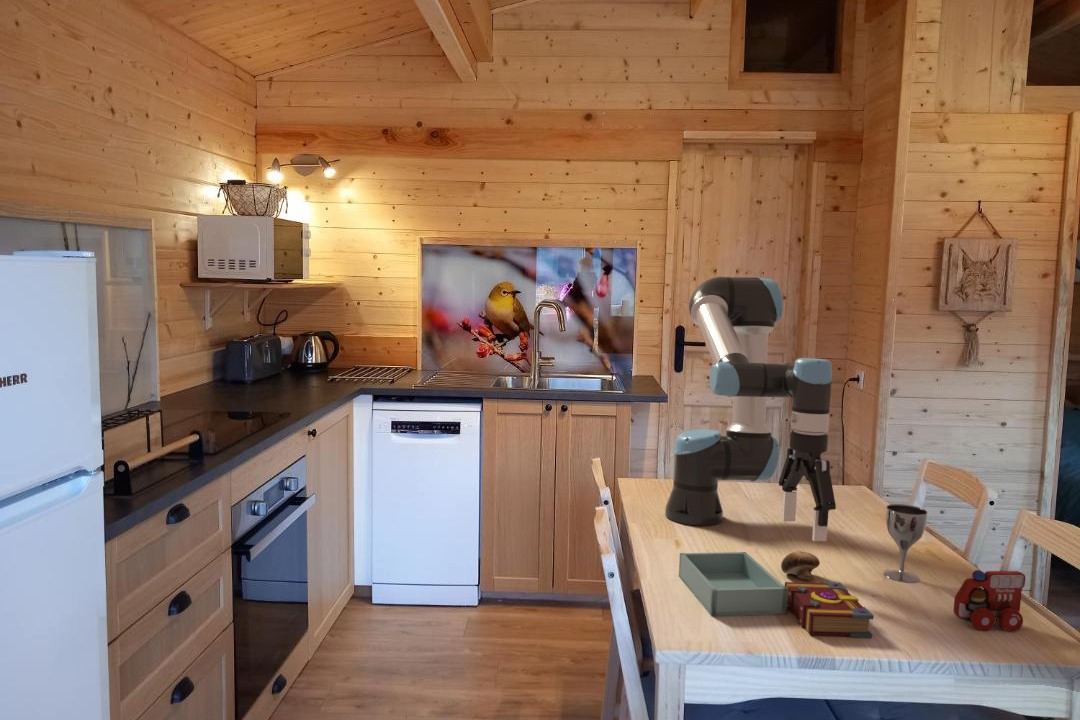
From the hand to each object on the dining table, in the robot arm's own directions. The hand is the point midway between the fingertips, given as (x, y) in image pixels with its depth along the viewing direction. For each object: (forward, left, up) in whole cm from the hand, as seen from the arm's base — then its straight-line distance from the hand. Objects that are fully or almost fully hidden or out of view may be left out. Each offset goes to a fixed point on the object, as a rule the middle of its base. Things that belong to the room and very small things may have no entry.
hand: (803, 530), depth 159 cm
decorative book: (+19, -5, -11) cm, 23 cm away
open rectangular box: (+8, -19, -10) cm, 23 cm away
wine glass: (+1, +23, -11) cm, 25 cm away
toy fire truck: (+24, +25, -11) cm, 36 cm away
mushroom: (0, 0, -11) cm, 11 cm away
